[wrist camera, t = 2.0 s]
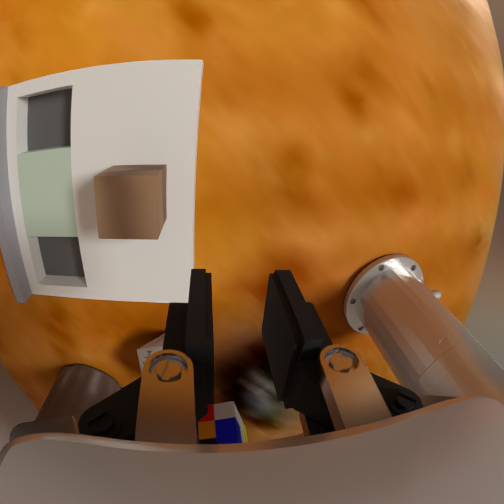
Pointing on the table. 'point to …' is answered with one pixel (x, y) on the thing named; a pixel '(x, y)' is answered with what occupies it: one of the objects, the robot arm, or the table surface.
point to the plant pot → (77, 391)
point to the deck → (82, 179)
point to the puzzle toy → (222, 425)
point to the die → (149, 349)
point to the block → (131, 201)
